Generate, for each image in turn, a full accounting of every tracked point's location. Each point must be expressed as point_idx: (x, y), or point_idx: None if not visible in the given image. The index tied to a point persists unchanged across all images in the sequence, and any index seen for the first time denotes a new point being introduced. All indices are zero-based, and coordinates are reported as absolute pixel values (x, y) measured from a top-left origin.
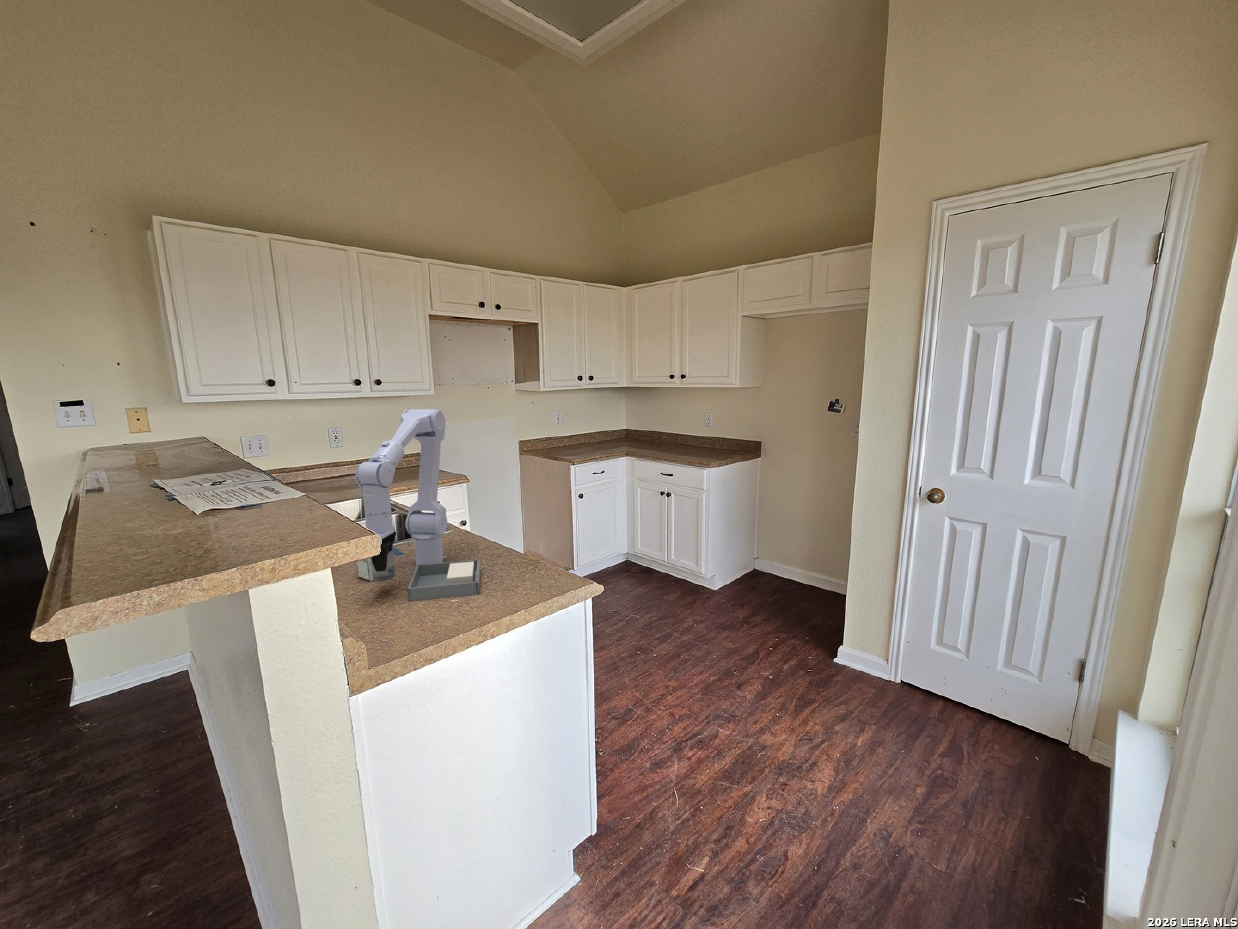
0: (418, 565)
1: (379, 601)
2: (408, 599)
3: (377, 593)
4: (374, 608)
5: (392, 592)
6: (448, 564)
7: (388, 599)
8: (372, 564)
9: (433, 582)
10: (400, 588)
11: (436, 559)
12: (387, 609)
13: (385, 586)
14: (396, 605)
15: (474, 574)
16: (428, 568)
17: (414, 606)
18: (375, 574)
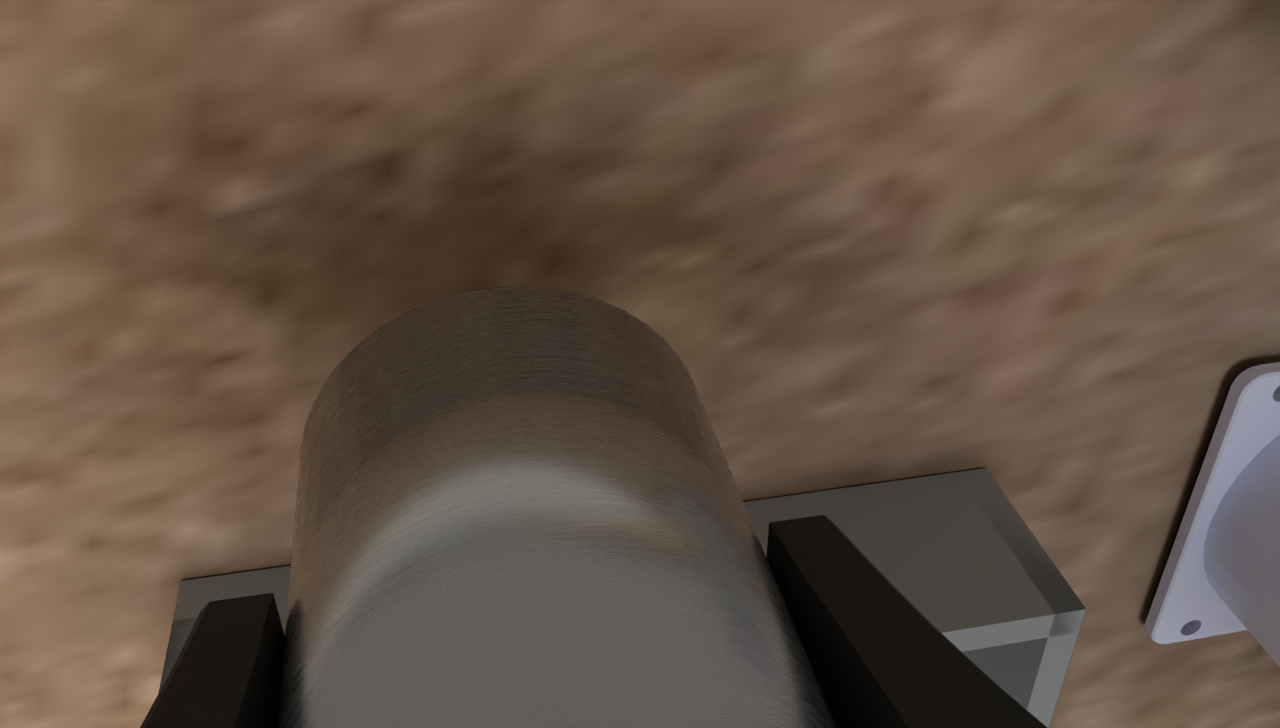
0: (1043, 635)
1: (341, 211)
2: (168, 644)
3: (660, 96)
4: (79, 213)
5: (643, 294)
6: None
7: (400, 310)
8: (350, 604)
9: None
10: (755, 354)
11: (1276, 660)
12: (49, 391)
13: (901, 140)
14: (185, 457)
15: None
16: (1000, 673)
17: (149, 639)
18: (316, 481)
